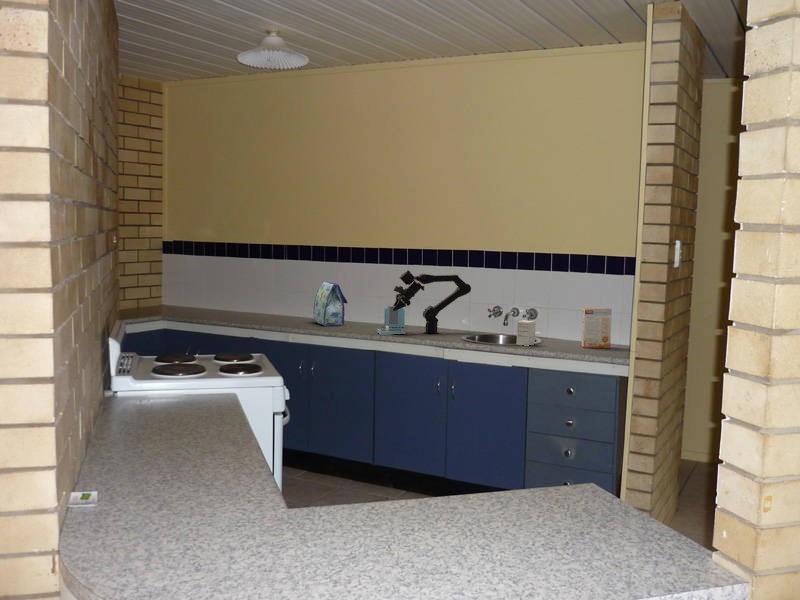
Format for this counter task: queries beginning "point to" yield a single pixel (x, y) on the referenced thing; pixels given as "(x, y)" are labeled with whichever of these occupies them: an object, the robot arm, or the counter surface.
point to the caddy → (389, 331)
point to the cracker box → (596, 327)
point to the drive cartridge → (392, 315)
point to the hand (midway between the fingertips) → (392, 310)
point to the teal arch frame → (400, 318)
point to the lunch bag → (329, 305)
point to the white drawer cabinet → (525, 332)
